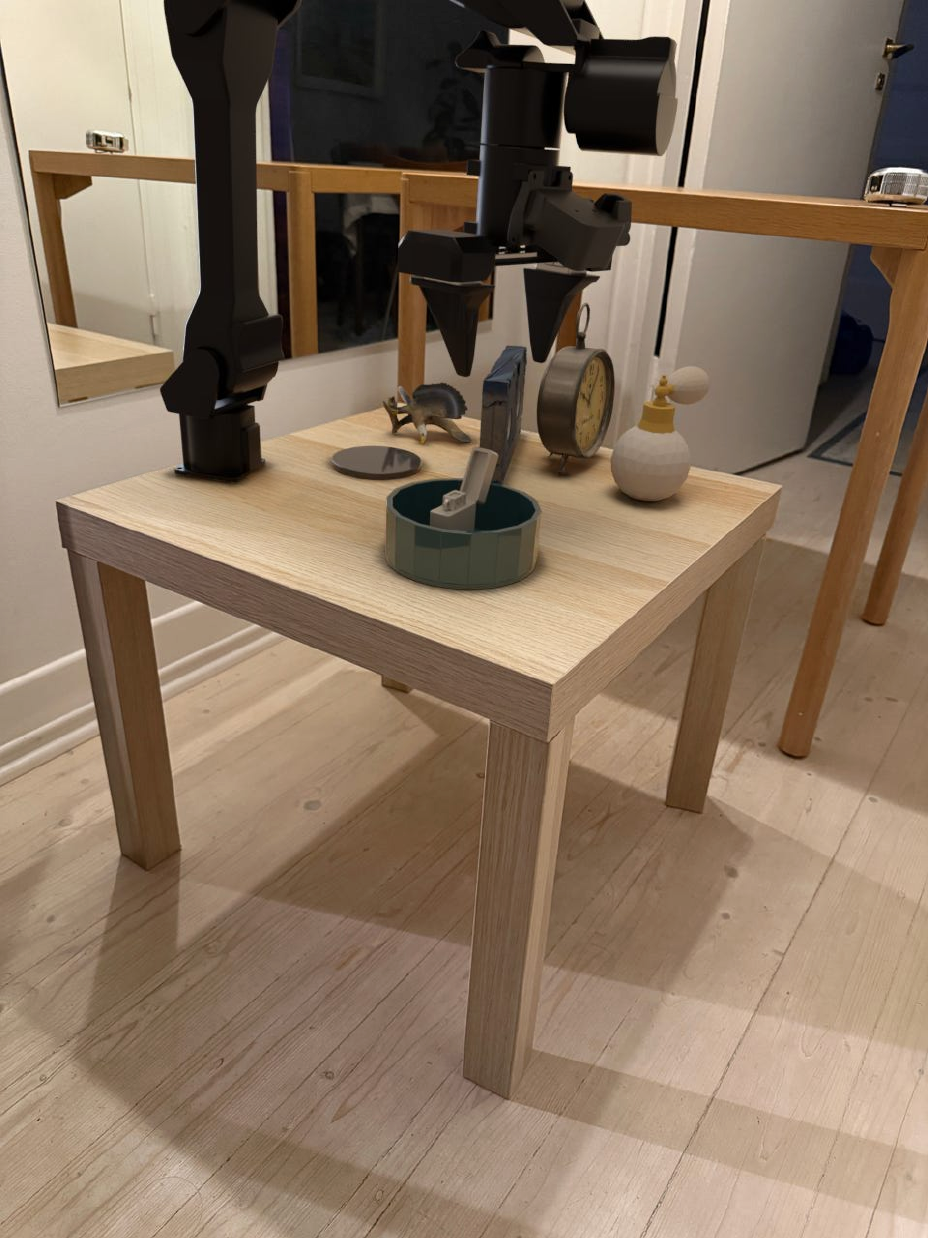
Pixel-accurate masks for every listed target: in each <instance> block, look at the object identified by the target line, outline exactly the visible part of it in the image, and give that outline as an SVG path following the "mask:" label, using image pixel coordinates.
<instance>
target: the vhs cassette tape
mask: <svg viewBox="0 0 928 1238" xmlns="http://www.w3.org/2000/svg"><path fill="white" fill-rule="evenodd" d="M527 352H528V348H527V346H522V345H521V346H520V345H506V346H505V348H504V349H503V350H502V352H501V354H500V356H499V357H498V358H497V359H496V360H495V362H494V364H493V366H492V368H491V370H490V373H487V376H486V377H485V378H484V379H483V381H482V392H481V396H482V397H481V412H480V427H479V428H480V431H479V445H478V447H480V448H485V449H489V450H491V451H493V452H495V453H497V454H498V460H497V463H496V466H495V470H494V473H493V477H492V480H491V482H493V483H498V484H503V481H504V479H505V476H506V474H507V471H508V469H509V466H510V463H511V461H512V459H513V455H514V453H515V450H516V448H517V445H518V442H519V439H520V436H521V434H522V415H523V411H524V410H523V409H524V407H523V406H524V393H525V383H526V370H527V363H528V357H527V354H528V353H527Z"/></svg>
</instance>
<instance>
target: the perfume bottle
mask: <svg viewBox="0 0 928 1238" xmlns="http://www.w3.org/2000/svg"><path fill="white" fill-rule="evenodd" d="M658 383H659V384H658V385H657V386H656V387H655V388H654V390H653V391H654V395H655V398H653V400H651V401H645V402H644V403H643V406H642V414H641V418H640V420H639V422H638V423H637V425H635V426H633V427H631V428H630V429H627V430H626V431H625V432H624V433H623V434H622V435H621V436H620V437H619V439H618V440H617V441H616V442H615V445H614V446H613V449H612V453H611V456H610V472H611V474H612V477H613V481H614V483H615V484H616V485H617V487H618V488H619V489H620V490H621V492H622V493H624V494H626V496H629V497H630V498H632V499H635V500H639V501H641V502H642V501H643V502H659V501H662V500H666V499H669V498H671V497H672V496H673V495H674V494H676V493H677V492H679V490H681V488H682V487H683V485H684V484H685V482H686V481H687V480H688V476H689V474H690V471H691V468H692V467H691V466H692V465H691V463H692V458H691V451H690V448H689V446H688V444H687V441H686V440H685V437H683V436H682V435H681V434H680V433H679V432H678V431H677V430H676V429H675V424H674V420H675V419H674V418H675V412H676V406H675V405H674V404H672V403H669V402H668V400H667V398H668V399H669V400H670V401H672V402H674V403H676V404H679V405H687V406H688V405H693V404H696V403H698V402H700V401H701V400H703V399H704V398H705V397H706V395H707V394H708V392H709V390H710V378H709V376H708V374H707V373H706V371H704V370H703V369H702V368H700V367H698V366H694V365H693V366H692V365H688V366H684V367H681V368H679V369H676V370H675V371H674V372H672V373H671V374H670V375H669V376H668V378H667V375H666V374H662V376H661V378H660V379H659V380H658ZM666 397H667V398H666Z"/></svg>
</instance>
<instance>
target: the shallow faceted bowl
mask: <svg viewBox="0 0 928 1238" xmlns="http://www.w3.org/2000/svg"><path fill="white" fill-rule="evenodd" d="M462 482H463V478H460V477H452V478H450V477H449V478H448V477H447V478H429V479H424V480H419V481H418V480H417V481H413V482H409V483H407V484H404V485H401V486H399V487H396V488H394V489H393V490H392V491H391V492H390V493H389V494H388V495H387V496H386V497H385V521H384V522H385V523H384V524H385V525H384V558H385V561H386V563H387V564H388V566H389V567H391V569H392V570H394V571H395V572H396V573H398V574H400V575H401V576H403V577H405V578H407V579H410V580H411V581H413V582H417V583H420V584H424V585H428V586H433V587H437V588H443V589H449V590H451V589H453V590H485V589H496V588H500V587H501V588H502V587H505V586H509V585H512V584H515V583H517V582H519V581H521V580H523V579H525V578H527V577H528V576H529V575H530V574H531V573H532V572H533V571H534V569H535V566H536V563H537V562H536V561H537V559H538V551H539V542H540V533H541V522H542V513H543V509H542V508H541V505H540V503H539V501H538V500H537V499H535V498H534V497H532V496H531V495H530V494H528V493H527V492H525V491H523V490H519V489H517V488H514V487H513V486H509V485H507V484H503V483H502V484H499V483H493V482H491V484H490V487H489V490H488V494H487V497H486V501H485V503H484V504H479V503H476V511H475V525H474V531H471V532H470V531H458V530H447V529H440V528H436V527H432V526H430V511H431V510H433V509H435V508H437V507H439V506H441V505H442V503H443V496H444V495H446V494H448V493H450V492H452V491H454V490H457V491H460V489H461V485H462Z"/></svg>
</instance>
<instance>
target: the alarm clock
mask: <svg viewBox="0 0 928 1238" xmlns="http://www.w3.org/2000/svg"><path fill="white" fill-rule="evenodd" d="M585 308H586V321H585V325H584V328H583V330H582V331H580V329H579V324H580V320H581V317H582V313H583V311H584V309H585ZM590 316H591V308H590V304H589V303H588V302H584V303H582V304H581V306H580V308H579V309H578V312H577V315H576V321H575V334H576V336H575V337H576V344H575V346H571V345H568V346H564V347H563V348H561V349H559V350H558V351H557V352H556V353H555V354H554V355H553V356H552V357H551V359H549V362H548V364H547V365H546V367H545V370H544V372H543V375H542V378H541V380H540V385H539V388H538V389H539V390H538V393H537V394H538V395H537V401H536V427H537V433H538V436H539V439H540V442H541V444H542V445H543V447H544V448H545V450H547V451H548V452H549V454H548V456H547V458H548V459H550V457H551V456H553V455H555V456H561V457H560V461H559V469H558V470H557V472H556V473H557V475H558V476H563V475H564V474H565V473H564V469H565V468H566V466H567V463H568V460H569V458H575V459H580V460H589V459H591V458H592V457H594V456H595V455H596V453H598V451H599V450H600V448H601V446H602V444H603V442H604V440H605V437H606V435H607V433H608V429H609V426H610V423H611V419H612V414H613V409H614V408H613V407H614V401H615V389H616V388H615V383H616V379H615V370H614V368H615V367H614V363H613V361H612V358H611V356H610V354H609V353H608V352H607V350H605V349H604V348H591V347H586V337H587V334H586V333H587V331H588V328H589V323H590V319H591V317H590Z"/></svg>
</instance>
